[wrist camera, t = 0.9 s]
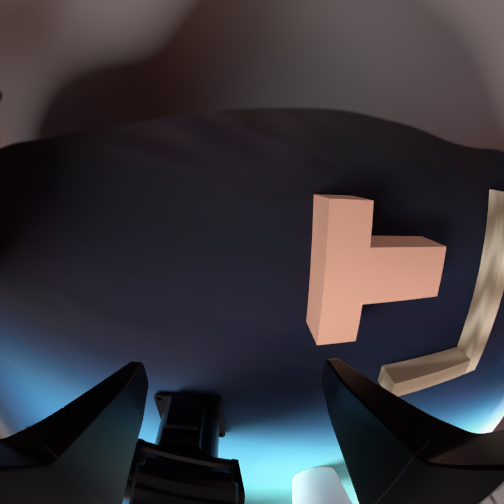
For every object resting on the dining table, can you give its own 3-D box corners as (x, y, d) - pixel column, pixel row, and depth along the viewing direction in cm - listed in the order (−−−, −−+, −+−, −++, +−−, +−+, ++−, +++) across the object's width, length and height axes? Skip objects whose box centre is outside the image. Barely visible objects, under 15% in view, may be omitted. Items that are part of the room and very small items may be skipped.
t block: (408, 310, 22) (428, 328, 19) (306, 321, 22) (316, 345, 18) (424, 200, 20) (450, 206, 16) (313, 194, 19) (329, 198, 16)
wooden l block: (461, 356, 25) (474, 369, 22) (377, 380, 24) (388, 398, 21) (498, 191, 19) (518, 195, 17) (413, 175, 19) (435, 177, 16)
